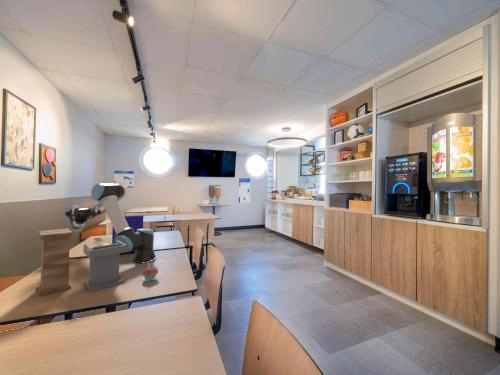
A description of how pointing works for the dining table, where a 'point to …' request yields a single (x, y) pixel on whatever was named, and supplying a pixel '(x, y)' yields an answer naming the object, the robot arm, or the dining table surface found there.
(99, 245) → the pin
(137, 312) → the dining table surface
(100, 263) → the tray stand
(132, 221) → the cereal box
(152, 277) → the cupcake
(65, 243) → the pin stand
